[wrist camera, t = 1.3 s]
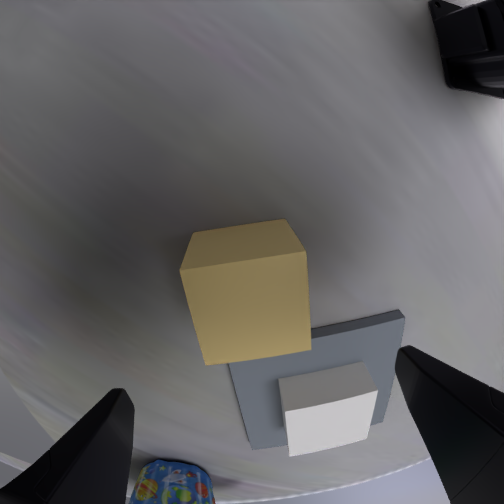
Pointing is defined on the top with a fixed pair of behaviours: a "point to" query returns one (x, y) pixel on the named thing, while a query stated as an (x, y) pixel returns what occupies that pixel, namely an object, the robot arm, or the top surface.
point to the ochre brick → (248, 291)
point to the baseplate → (317, 359)
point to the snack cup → (172, 485)
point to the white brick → (327, 408)
